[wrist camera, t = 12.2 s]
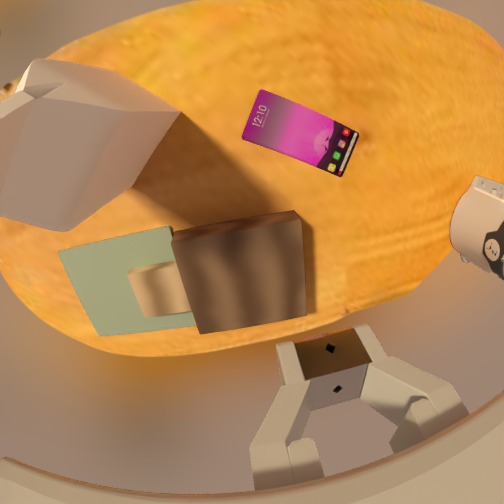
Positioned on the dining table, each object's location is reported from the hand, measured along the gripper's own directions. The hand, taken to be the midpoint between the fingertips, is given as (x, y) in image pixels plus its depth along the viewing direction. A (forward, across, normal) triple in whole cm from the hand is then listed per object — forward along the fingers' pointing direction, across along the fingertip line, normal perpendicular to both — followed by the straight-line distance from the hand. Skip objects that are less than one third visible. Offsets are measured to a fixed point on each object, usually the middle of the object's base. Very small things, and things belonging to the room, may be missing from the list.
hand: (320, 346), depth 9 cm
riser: (+31, +2, +15) cm, 35 cm away
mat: (+31, +21, +15) cm, 41 cm away
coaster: (+31, +15, +15) cm, 37 cm away
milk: (+31, +15, -9) cm, 36 cm away
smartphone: (+32, -8, -4) cm, 33 cm away
